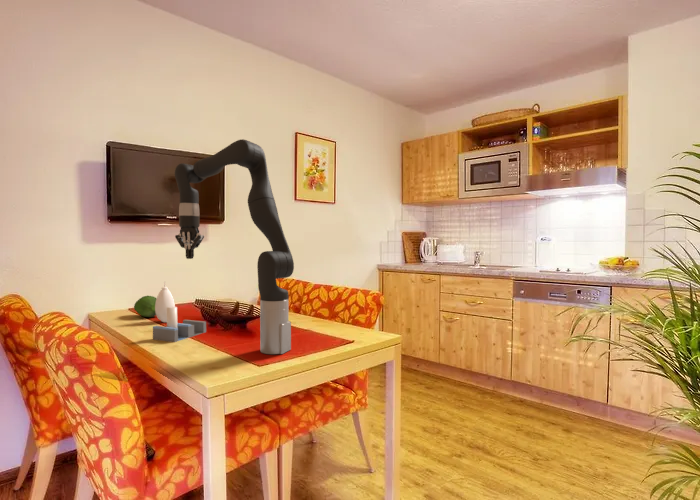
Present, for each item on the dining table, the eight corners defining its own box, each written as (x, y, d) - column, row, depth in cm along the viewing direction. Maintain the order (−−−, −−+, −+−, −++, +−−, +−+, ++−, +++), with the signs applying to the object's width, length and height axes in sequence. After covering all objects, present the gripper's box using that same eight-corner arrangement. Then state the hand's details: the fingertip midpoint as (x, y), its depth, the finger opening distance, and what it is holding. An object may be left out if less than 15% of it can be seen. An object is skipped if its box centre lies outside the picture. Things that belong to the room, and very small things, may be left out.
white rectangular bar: (179, 336, 146) (179, 307, 145) (172, 339, 142) (172, 308, 142) (172, 336, 147) (171, 306, 147) (164, 338, 144) (164, 308, 143)
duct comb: (206, 334, 154) (206, 320, 154) (174, 344, 139) (174, 328, 139) (185, 332, 158) (185, 318, 158) (152, 342, 143) (152, 326, 143)
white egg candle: (178, 321, 177) (177, 281, 176) (160, 324, 171) (159, 282, 170) (169, 319, 182) (169, 280, 181) (152, 322, 176) (151, 281, 175)
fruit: (128, 316, 188) (128, 295, 188) (149, 313, 196) (149, 293, 196) (144, 320, 179) (144, 298, 179) (165, 316, 187) (165, 295, 187)
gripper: (209, 215, 160) (209, 258, 160) (183, 215, 164) (183, 257, 165) (196, 214, 153) (196, 259, 153) (169, 214, 157) (169, 258, 158)
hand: (189, 258), depth 159 cm, fingers closed
